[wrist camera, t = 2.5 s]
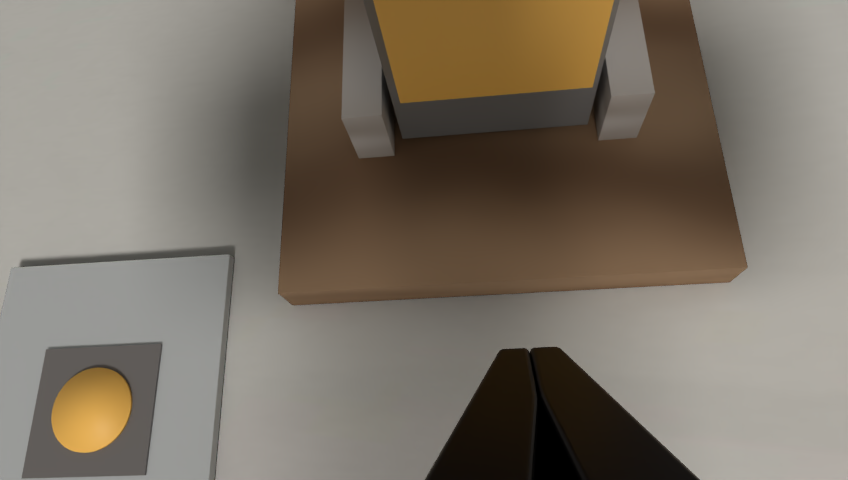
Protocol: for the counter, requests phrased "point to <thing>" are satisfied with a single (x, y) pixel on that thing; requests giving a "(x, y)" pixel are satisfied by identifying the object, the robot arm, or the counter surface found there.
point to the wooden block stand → (503, 177)
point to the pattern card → (114, 369)
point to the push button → (490, 62)
